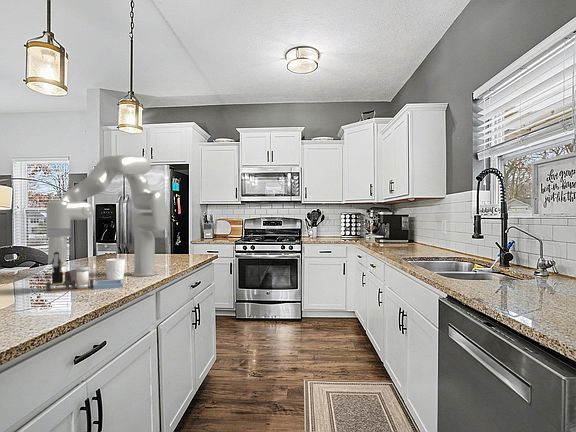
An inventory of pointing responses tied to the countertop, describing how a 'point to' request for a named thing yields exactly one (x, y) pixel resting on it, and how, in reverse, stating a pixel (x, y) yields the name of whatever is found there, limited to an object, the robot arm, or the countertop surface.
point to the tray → (108, 284)
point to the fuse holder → (66, 287)
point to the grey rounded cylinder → (82, 277)
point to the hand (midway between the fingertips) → (58, 281)
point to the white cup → (115, 268)
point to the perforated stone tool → (71, 276)
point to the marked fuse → (63, 274)
